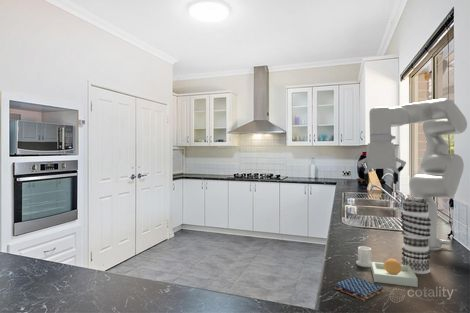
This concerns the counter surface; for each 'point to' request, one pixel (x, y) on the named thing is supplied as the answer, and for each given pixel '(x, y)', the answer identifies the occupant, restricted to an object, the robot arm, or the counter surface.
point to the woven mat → (359, 288)
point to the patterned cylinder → (416, 234)
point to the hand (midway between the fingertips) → (381, 183)
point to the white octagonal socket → (364, 256)
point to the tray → (401, 278)
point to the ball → (392, 266)
